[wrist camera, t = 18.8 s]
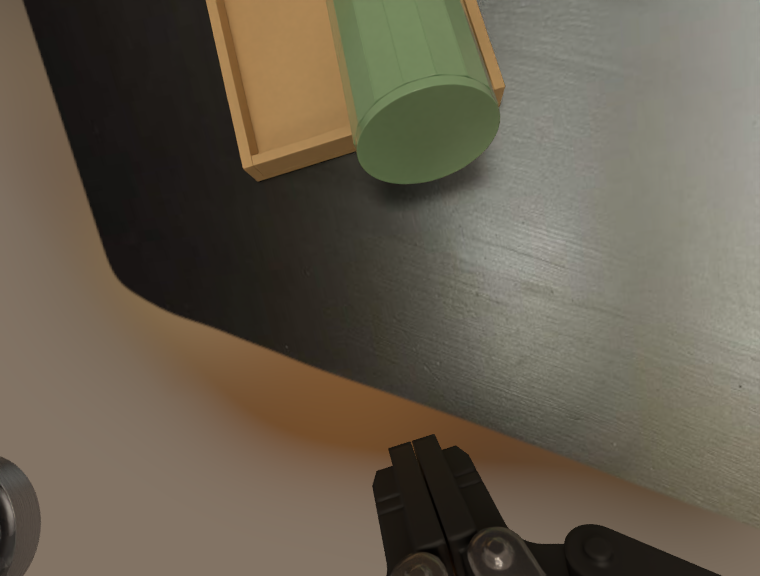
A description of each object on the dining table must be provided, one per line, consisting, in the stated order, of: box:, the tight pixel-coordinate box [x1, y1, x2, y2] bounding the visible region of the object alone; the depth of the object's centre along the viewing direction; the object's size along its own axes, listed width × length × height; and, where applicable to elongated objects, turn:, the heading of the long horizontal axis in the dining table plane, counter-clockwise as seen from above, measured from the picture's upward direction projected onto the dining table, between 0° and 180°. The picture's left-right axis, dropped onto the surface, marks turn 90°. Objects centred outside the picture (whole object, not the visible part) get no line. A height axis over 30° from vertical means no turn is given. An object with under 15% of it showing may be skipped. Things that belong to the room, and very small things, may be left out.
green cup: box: [326, 0, 500, 184], centre depth 26 cm, size 8×8×13 cm
